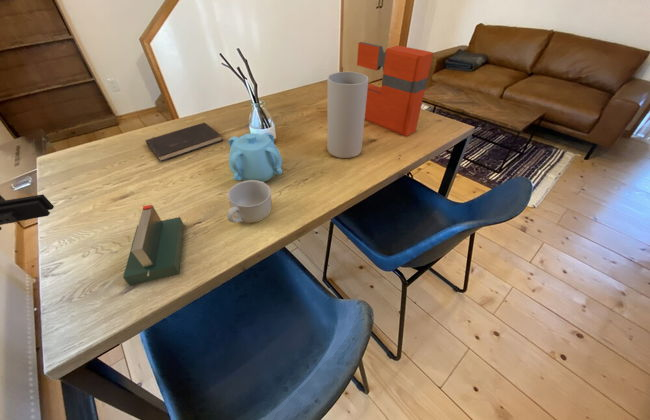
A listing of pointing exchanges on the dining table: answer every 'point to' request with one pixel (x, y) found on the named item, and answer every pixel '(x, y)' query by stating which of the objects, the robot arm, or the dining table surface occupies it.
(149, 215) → the red-tipped metal bar
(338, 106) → the cylinder vase
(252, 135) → the decorative pot
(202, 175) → the dining table surface
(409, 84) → the clamp
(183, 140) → the hardcover book
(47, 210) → the robot arm
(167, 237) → the green block
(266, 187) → the teacup
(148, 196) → the dining table surface
